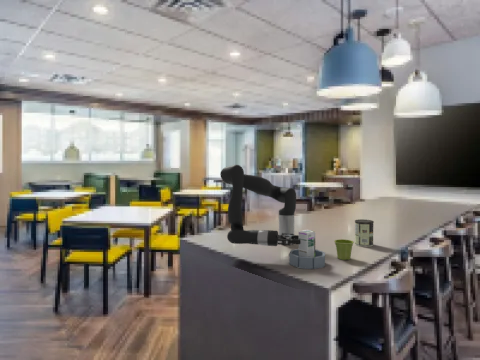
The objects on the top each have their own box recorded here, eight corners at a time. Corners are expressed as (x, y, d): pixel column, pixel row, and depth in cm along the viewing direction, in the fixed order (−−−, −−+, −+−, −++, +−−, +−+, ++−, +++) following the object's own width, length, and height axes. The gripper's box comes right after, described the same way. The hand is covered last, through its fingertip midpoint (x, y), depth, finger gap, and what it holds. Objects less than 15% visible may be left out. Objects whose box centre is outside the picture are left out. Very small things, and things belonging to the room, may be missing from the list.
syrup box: (307, 263, 156) (307, 232, 155) (298, 260, 161) (298, 230, 160) (315, 261, 159) (315, 231, 159) (306, 258, 164) (306, 229, 163)
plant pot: (331, 259, 167) (331, 242, 166) (337, 254, 175) (337, 238, 174) (350, 262, 162) (350, 244, 161) (355, 257, 169) (356, 240, 169)
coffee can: (367, 242, 202) (367, 219, 201) (376, 246, 191) (377, 222, 191) (351, 243, 200) (351, 219, 199) (360, 247, 190) (360, 222, 189)
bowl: (292, 257, 170) (292, 247, 170) (325, 259, 166) (325, 249, 166) (287, 267, 155) (287, 256, 154) (324, 270, 150) (324, 259, 150)
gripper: (265, 233, 158) (300, 235, 153) (270, 227, 171) (302, 229, 167) (265, 249, 158) (299, 251, 154) (270, 242, 172) (302, 244, 168)
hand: (301, 239), depth 160 cm, fingers open, 8 cm apart
